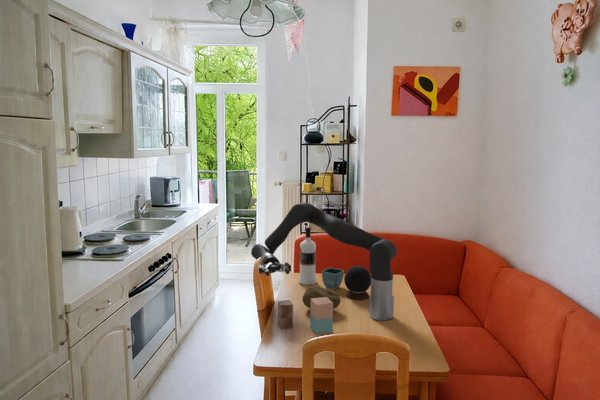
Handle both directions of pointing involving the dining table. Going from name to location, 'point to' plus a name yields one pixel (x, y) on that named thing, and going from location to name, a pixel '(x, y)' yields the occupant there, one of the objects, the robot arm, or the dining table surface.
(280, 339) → the dining table surface
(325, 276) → the flower pot
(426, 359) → the dining table surface
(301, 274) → the vodka
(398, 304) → the dining table surface
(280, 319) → the pillar
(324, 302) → the tower top
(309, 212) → the robot arm
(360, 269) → the black ball on stand
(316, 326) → the tower base
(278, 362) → the dining table surface
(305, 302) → the decorative stone
